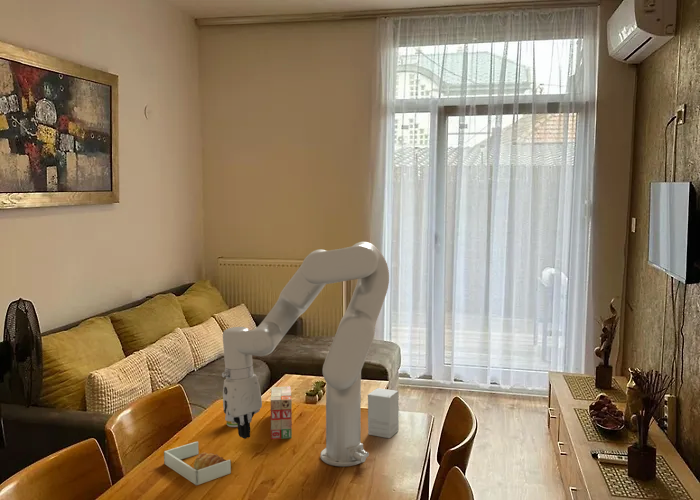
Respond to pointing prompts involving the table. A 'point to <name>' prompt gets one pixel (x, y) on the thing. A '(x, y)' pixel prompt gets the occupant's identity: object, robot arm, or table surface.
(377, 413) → the supplement box
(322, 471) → the table surface
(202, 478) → the frame
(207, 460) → the pastry
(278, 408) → the stack of blocks
